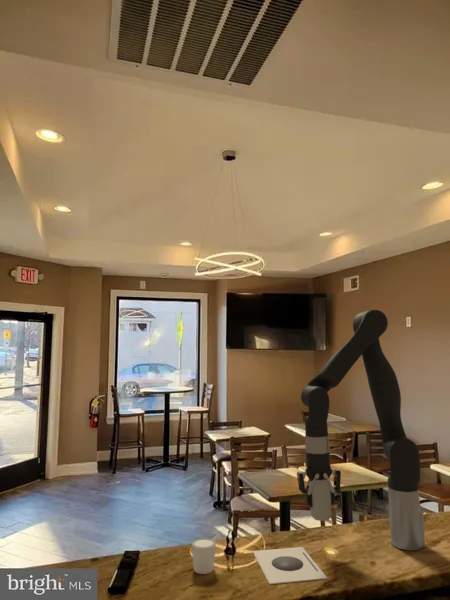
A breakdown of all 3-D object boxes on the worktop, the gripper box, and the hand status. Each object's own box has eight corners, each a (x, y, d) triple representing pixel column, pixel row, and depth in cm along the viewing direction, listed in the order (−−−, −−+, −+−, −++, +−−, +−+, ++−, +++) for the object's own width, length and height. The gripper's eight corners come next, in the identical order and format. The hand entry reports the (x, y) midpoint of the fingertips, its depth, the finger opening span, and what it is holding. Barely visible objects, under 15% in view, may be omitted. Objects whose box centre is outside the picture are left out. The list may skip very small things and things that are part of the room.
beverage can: (330, 514, 142) (328, 475, 143) (333, 521, 135) (330, 480, 137) (310, 514, 142) (308, 475, 144) (312, 521, 136) (309, 480, 137)
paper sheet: (302, 547, 140) (302, 546, 140) (327, 578, 120) (327, 577, 120) (252, 552, 137) (252, 550, 137) (269, 584, 118) (269, 582, 118)
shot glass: (197, 577, 122) (197, 549, 123) (187, 566, 128) (187, 540, 129) (220, 571, 125) (219, 544, 126) (209, 561, 131) (209, 536, 132)
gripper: (334, 446, 146) (337, 500, 144) (292, 449, 144) (294, 503, 142) (343, 451, 139) (347, 507, 137) (299, 454, 136) (302, 511, 134)
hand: (320, 505), depth 139 cm, fingers closed on beverage can, 6 cm apart
